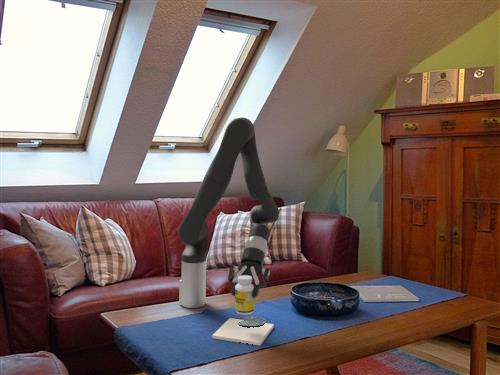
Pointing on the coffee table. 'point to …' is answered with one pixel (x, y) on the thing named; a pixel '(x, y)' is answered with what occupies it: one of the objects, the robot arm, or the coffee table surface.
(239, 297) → the pill bottle
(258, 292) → the robot arm
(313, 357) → the coffee table surface
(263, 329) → the cream tile
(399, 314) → the coffee table surface
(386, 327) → the coffee table surface
